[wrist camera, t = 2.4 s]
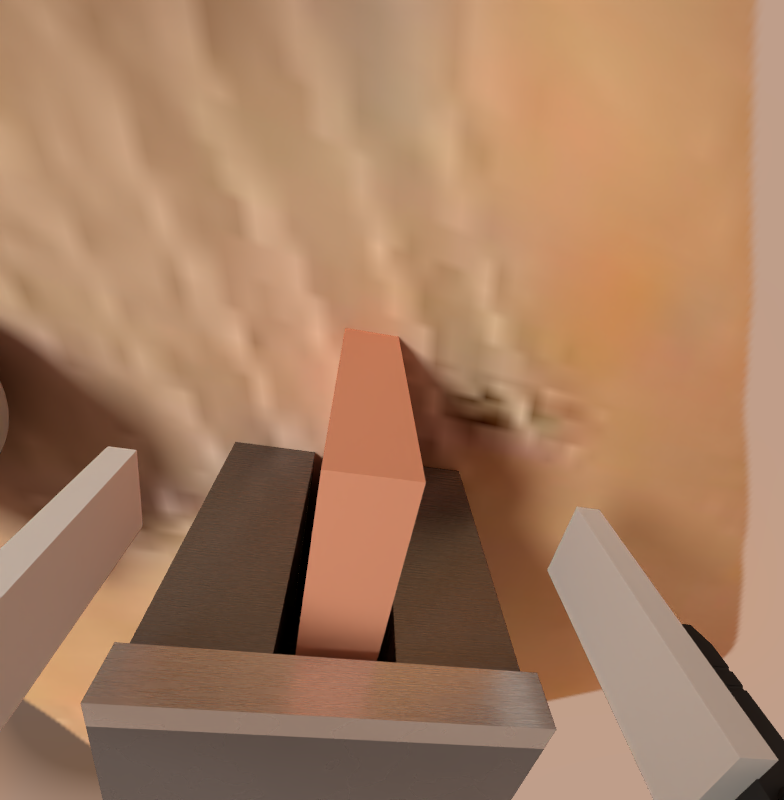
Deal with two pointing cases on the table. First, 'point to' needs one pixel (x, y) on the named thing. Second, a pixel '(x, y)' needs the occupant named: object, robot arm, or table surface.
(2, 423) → the teacup
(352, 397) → the salmon orange rectangular slab
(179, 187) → the table surface
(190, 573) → the block
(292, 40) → the table surface
